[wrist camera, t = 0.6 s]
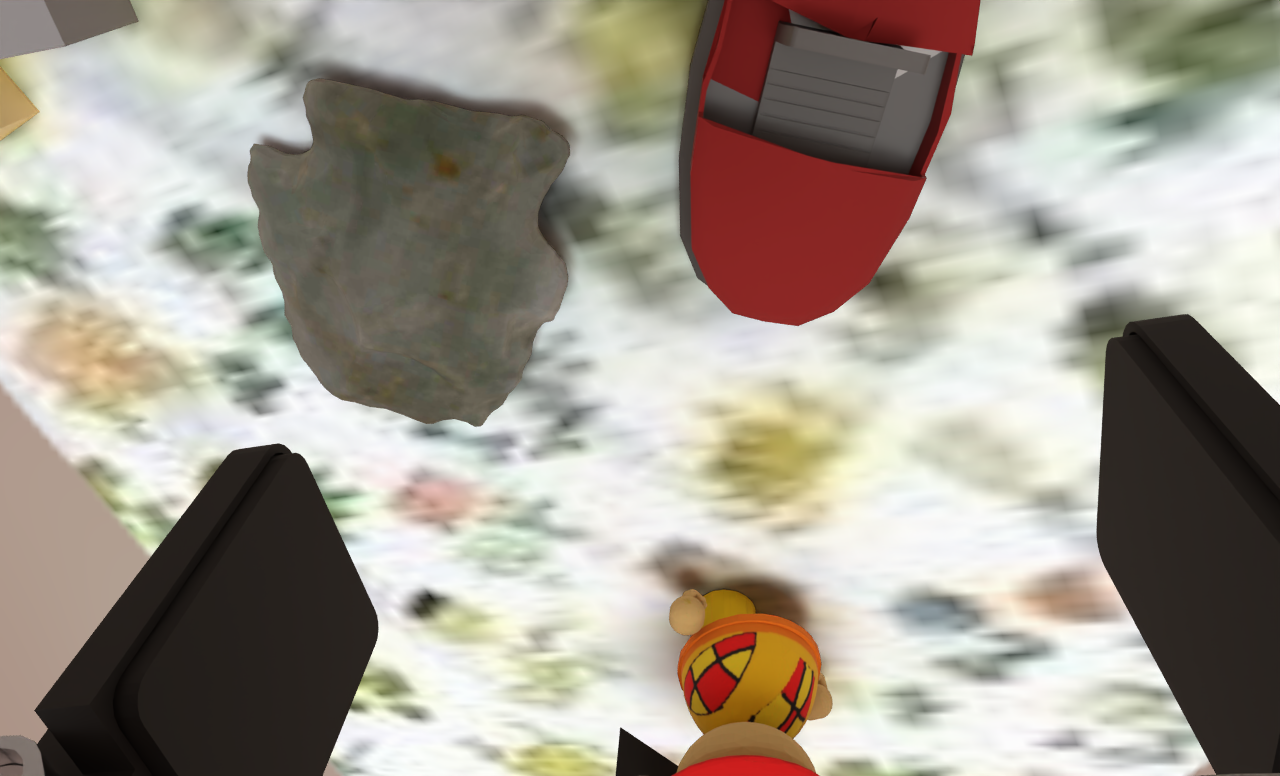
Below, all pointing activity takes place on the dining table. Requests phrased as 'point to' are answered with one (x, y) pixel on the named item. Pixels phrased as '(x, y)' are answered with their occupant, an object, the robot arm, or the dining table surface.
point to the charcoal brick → (57, 23)
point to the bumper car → (811, 143)
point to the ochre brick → (13, 106)
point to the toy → (738, 692)
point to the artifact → (412, 248)
